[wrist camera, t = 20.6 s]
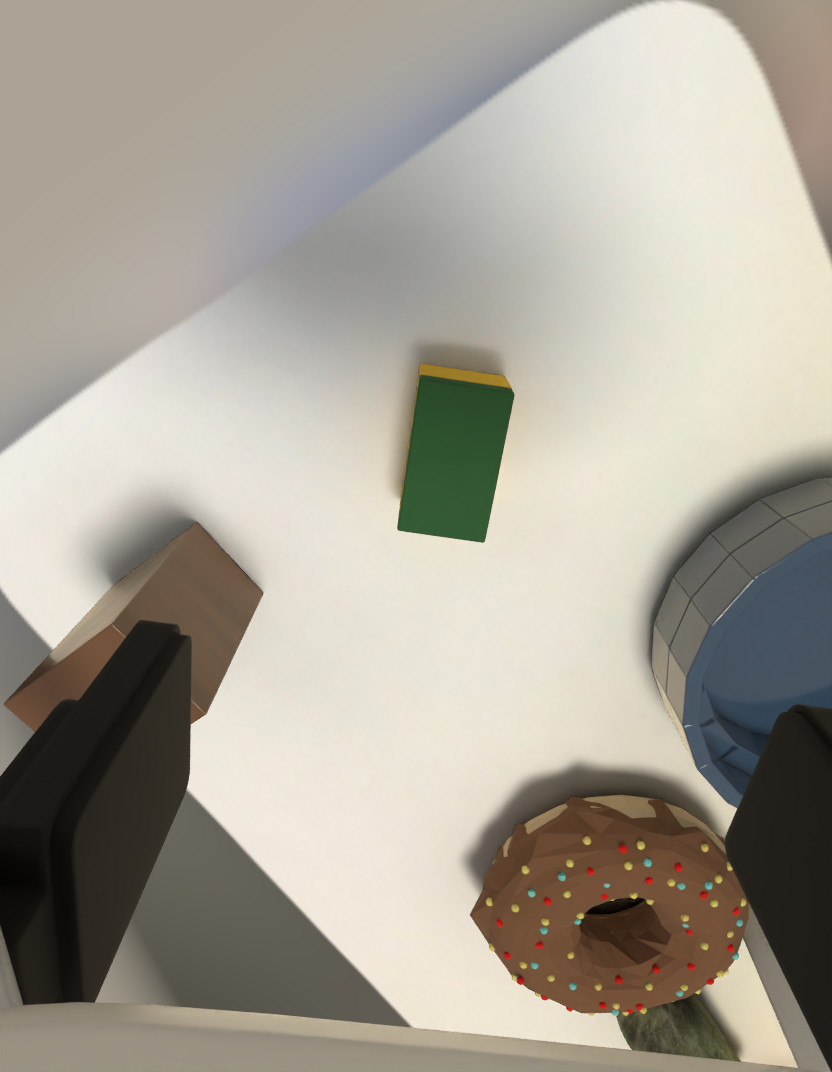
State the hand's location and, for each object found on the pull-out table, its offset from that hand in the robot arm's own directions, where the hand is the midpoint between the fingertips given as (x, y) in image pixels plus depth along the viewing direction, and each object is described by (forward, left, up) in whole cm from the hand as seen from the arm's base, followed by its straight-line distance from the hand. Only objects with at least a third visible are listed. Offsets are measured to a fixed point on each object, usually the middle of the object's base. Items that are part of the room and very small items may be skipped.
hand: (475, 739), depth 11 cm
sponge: (0, 0, -20) cm, 20 cm away
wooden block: (+10, -10, -20) cm, 24 cm away
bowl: (+5, +19, -20) cm, 28 cm away
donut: (+22, +14, -20) cm, 33 cm away
